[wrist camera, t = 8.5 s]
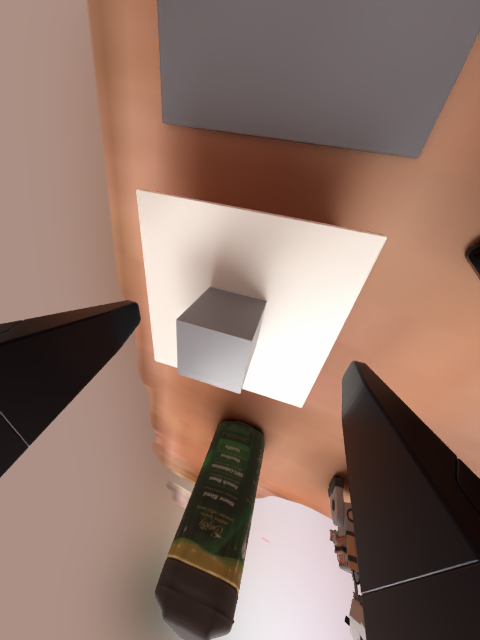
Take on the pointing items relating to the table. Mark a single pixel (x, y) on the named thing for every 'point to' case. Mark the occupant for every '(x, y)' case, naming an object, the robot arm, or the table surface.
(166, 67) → the mat
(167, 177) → the table surface
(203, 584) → the coffee jar
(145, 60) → the table surface
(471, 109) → the table surface
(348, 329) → the table surface
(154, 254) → the lid
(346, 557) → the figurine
